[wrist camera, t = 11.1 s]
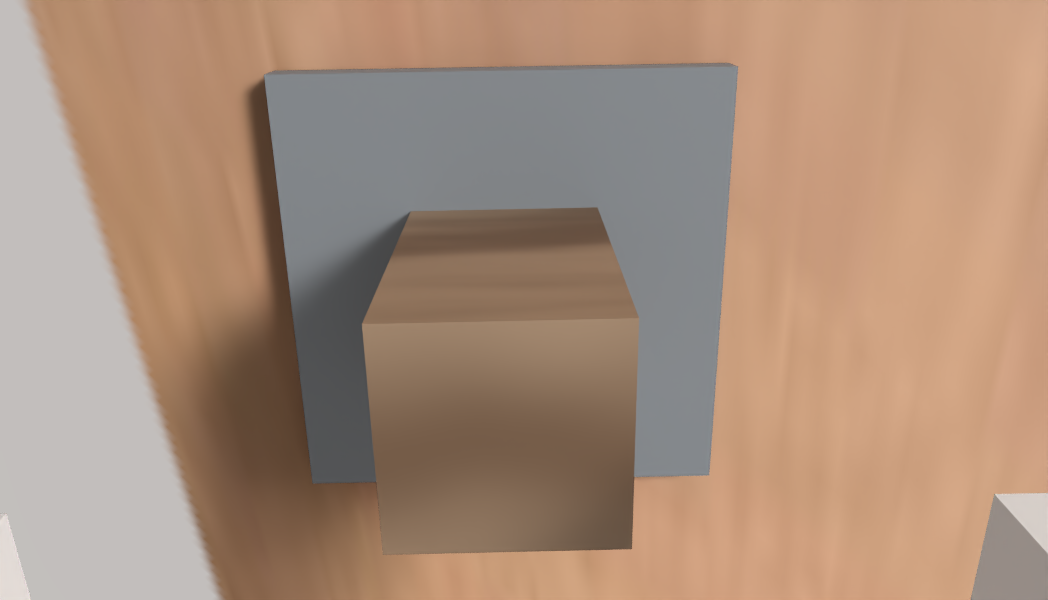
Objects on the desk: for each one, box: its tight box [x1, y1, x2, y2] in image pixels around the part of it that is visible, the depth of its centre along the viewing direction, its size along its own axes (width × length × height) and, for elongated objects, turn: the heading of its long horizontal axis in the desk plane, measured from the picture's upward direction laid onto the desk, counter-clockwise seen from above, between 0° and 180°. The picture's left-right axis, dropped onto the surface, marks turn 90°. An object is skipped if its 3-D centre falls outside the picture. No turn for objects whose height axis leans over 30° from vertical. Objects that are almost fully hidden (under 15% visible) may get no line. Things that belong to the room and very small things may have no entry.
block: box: [362, 207, 639, 555], centre depth 20 cm, size 5×5×8 cm
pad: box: [264, 63, 738, 483], centre depth 24 cm, size 12×12×1 cm
